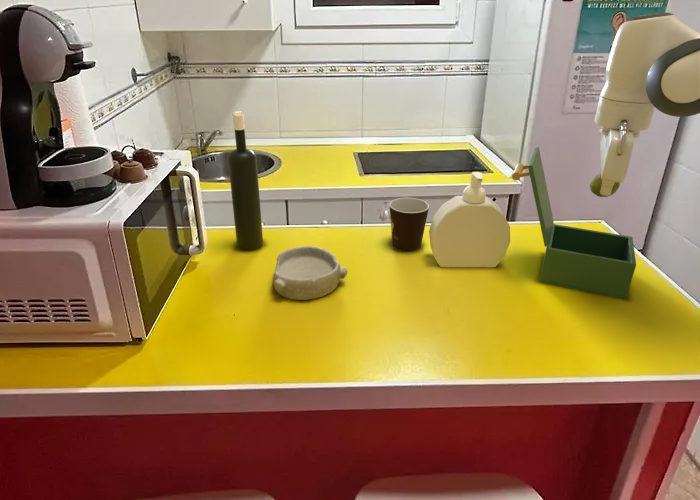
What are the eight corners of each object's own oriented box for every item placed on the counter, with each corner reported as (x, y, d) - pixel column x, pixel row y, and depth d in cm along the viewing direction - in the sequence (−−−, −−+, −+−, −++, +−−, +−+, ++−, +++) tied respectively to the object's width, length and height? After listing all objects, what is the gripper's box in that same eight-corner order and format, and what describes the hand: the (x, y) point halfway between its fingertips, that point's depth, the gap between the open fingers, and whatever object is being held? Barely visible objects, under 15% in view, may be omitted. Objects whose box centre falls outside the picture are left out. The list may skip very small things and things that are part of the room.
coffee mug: (420, 257, 112) (423, 215, 108) (382, 250, 115) (384, 209, 110) (432, 236, 122) (436, 196, 117) (397, 230, 125) (399, 191, 120)
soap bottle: (429, 269, 108) (438, 178, 99) (426, 256, 113) (434, 169, 103) (506, 269, 108) (522, 178, 99) (500, 257, 113) (514, 169, 104)
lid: (538, 146, 104) (515, 151, 107) (532, 165, 94) (506, 170, 96) (553, 221, 110) (531, 224, 112) (549, 246, 99) (524, 249, 102)
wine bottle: (232, 249, 115) (217, 113, 101) (246, 239, 120) (233, 107, 106) (254, 254, 113) (242, 116, 99) (268, 243, 118) (258, 110, 104)
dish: (278, 308, 95) (277, 285, 92) (264, 272, 106) (263, 250, 104) (353, 295, 99) (354, 272, 97) (332, 261, 110) (332, 240, 108)
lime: (583, 194, 99) (589, 169, 96) (602, 191, 100) (608, 166, 98) (602, 203, 95) (608, 177, 93) (621, 199, 97) (628, 173, 94)
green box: (622, 270, 108) (632, 236, 105) (625, 300, 98) (636, 264, 94) (544, 255, 114) (551, 223, 110) (539, 283, 103) (546, 248, 100)
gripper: (648, 131, 81) (625, 212, 87) (639, 105, 97) (621, 175, 104) (604, 126, 83) (585, 206, 89) (603, 102, 99) (587, 171, 106)
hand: (604, 189), depth 97 cm, fingers closed on lime, 3 cm apart
